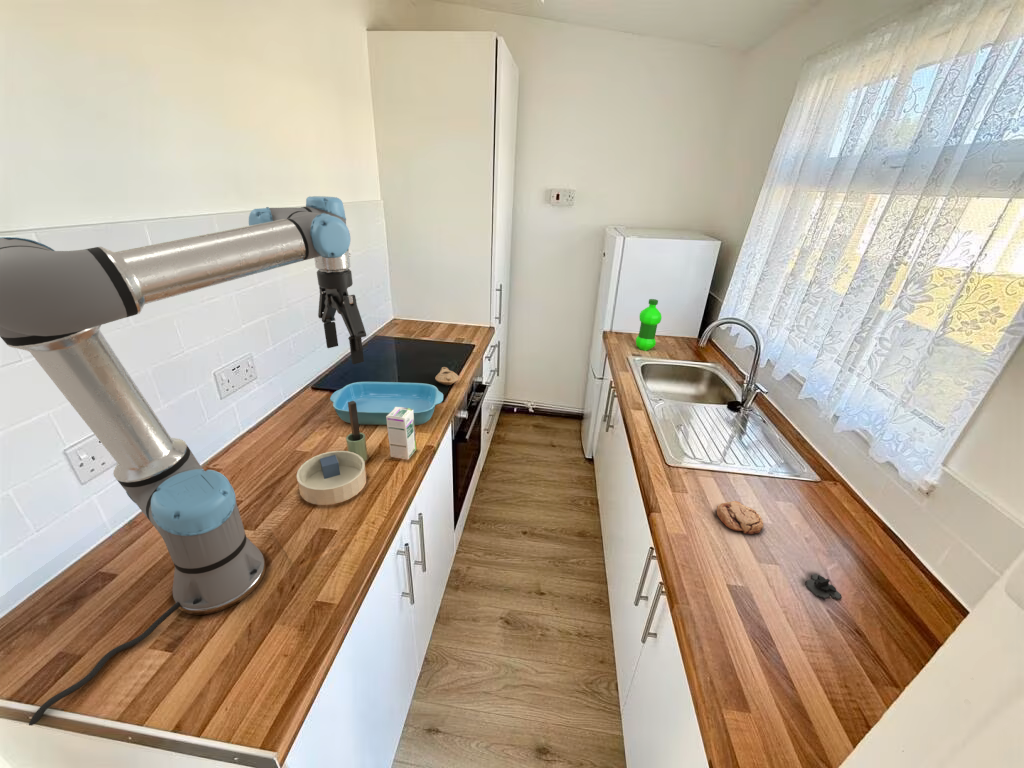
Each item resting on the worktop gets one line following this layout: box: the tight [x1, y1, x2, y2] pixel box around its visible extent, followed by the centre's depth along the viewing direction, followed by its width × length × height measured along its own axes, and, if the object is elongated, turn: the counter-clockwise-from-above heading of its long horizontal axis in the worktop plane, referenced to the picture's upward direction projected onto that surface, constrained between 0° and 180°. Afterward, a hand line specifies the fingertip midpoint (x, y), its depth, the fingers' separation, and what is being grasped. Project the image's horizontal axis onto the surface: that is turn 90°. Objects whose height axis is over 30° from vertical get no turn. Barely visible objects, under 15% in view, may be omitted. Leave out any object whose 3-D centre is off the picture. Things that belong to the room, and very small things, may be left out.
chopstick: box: [348, 401, 361, 441], centre depth 119 cm, size 2×2×18 cm
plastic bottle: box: [635, 298, 663, 351], centre depth 212 cm, size 10×10×25 cm
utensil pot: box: [345, 431, 368, 462], centre depth 121 cm, size 5×5×8 cm
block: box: [320, 455, 340, 479], centre depth 115 cm, size 4×4×4 cm
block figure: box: [805, 573, 843, 601], centre depth 90 cm, size 6×2×6 cm
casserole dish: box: [329, 381, 444, 426], centre depth 146 cm, size 37×22×7 cm, turn 94°
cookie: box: [716, 500, 764, 535], centre depth 108 cm, size 10×11×3 cm
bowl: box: [296, 450, 367, 506], centre depth 112 cm, size 16×16×6 cm
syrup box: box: [386, 407, 417, 461], centre depth 123 cm, size 6×6×14 cm
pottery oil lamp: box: [434, 366, 460, 386], centre depth 171 cm, size 9×12×7 cm
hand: (344, 354), depth 109 cm, fingers open, 13 cm apart
